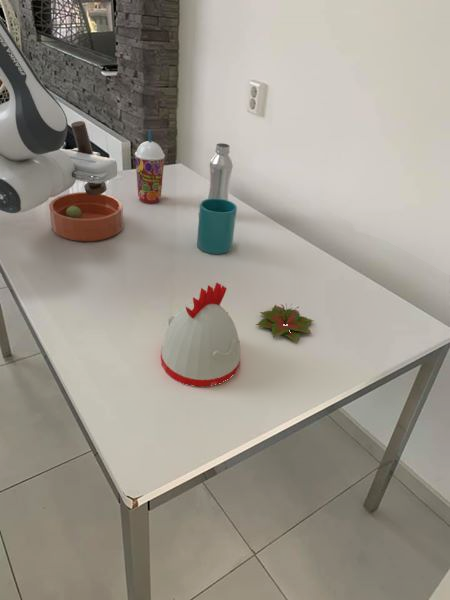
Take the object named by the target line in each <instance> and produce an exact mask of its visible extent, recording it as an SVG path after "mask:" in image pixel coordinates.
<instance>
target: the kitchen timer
mask: <svg viewBox="0 0 450 600" xmlns="http://www.w3.org/2000/svg"><path fill="white" fill-rule="evenodd" d="M227 289H228V288H227V287H226V286H224V285H222V284H221V283H219V282H216V283H215V286H214V288H213V287H212V286H211V285H209V284H208V285H207V288H206V289H204V288H202V287H201V288H200V292H199V295H198V299H197V298H195V297H192V302H190V303H189V304H187V305H186V306H183V307H182V309H180V310H179V311H178V313H176V315H175V316H170V317H169V318H168V320H167V325H168V327H167V329H166V332H165V334H164V337H163V341H162V344H161V348H160V363H161V362H162V363H161V366H162V368H163V370H164V369H165V370H164V371H165V373H166V374H167V375H168V376H169V375H170V376H169V377H171V378H172V379H173V380H174V381H176V380H177V381H176V382H178V381H179V383H180V382H181V384H183V383H184V384H183V385H185V384H188V385H187V386H190V385H194V386H211V385H215V384H219V383H222V382H223V381H225V380H227V379H229V378H230V377H231V376H232V375H233V374H235V373H237V372H238V370H237V369H239V368H240V364H241V363H240V362H241V340H240V338H239V334H238V330H237V328H236V325H235V322H234V320H233V318H232V317H231V315H230V314H229V312H228V311H226V309H225V308H224V307H223V306H222V305H221V303H222V301H223V299H224V296H225V294H226V291H227ZM238 367H239V368H238ZM236 371H237V372H236ZM235 375H236V374H235ZM229 380H230V379H229ZM222 384H223V383H222ZM194 386H193V387H194ZM211 387H212V386H211Z"/></svg>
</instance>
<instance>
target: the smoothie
mask: <svg viewBox="0 0 450 600" xmlns="http://www.w3.org/2000/svg"><path fill="white" fill-rule="evenodd" d="M165 156H166V154H165V153H164V151H163V149H162V147H161V146H160V145H159V144H158V143H157V142H155V141H152V131H151V130H150V131H148V140H147V141H144V142H141V144H139V146H138V147H137V149H136V151H135V153H134V157H135V170H136V171H135V172H136V185H137V186H136V187H137V196H138V198H139V201H140V202H141V203H145V204H156V203H158V202H159V201H160V199H161V198H162V190H163V177H164V165H165Z"/></svg>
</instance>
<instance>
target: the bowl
mask: <svg viewBox="0 0 450 600" xmlns="http://www.w3.org/2000/svg"><path fill="white" fill-rule="evenodd" d="M71 206H76V207H78V208H79V209H80V210H81V212H82V217H81V219H77V218H70V217H66V210H67V209H68V208H69V207H71ZM48 208H49V215H50V223H51V230H52V231H53V232H54V233H55V234H56V235H58V236H60V237H62V238H63V239H67V240H70V241H75V242H85V243H86V242H98V241H105V240H108V239H110V238H113V237H114V236H116V235H117V234H119V233H120V232H121V231H122V229H123V227H124V207H123V204H122V202H121V201H120V200H119V199H118V198H117V197H114V196H112V195H109V194H106V193H102V194H99V195H88V194H87V193H86V191H81V192H72V193H65V194H63V195H60V196H58V197H57V196H56V197H55V198H54V199H53V200H51V201H50V203H49V204H48Z"/></svg>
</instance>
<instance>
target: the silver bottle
mask: <svg viewBox="0 0 450 600" xmlns="http://www.w3.org/2000/svg"><path fill="white" fill-rule="evenodd" d="M230 153H231V151H230V145H229V144H227V143H223V142H222V143H221V142H218V143H216V146H215V155H213V156H212V158H211V159H210V162H209V190H208V194H207V199H212V198H217V199H224V200H228V201H229V185H230V180H231V175H232V171H233V166H234V165H233V162H232V159H231V157H230V155H229V154H230Z"/></svg>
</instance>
